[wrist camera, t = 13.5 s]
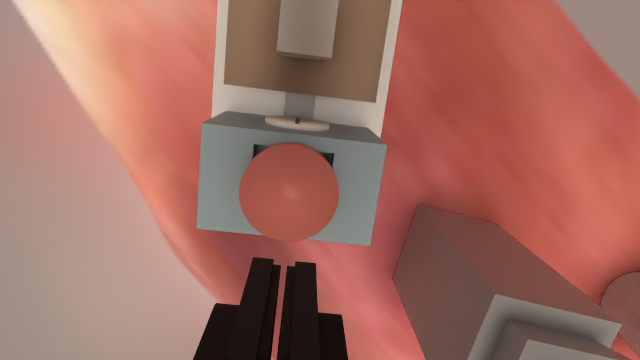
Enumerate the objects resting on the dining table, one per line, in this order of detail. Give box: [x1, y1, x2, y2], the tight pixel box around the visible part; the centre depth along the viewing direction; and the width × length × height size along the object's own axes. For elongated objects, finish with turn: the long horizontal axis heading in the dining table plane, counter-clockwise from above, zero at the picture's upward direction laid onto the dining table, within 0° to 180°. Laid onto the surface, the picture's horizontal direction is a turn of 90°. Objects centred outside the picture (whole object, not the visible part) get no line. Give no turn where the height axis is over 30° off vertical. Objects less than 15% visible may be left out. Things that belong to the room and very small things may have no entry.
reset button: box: [239, 142, 339, 242], centre depth 23 cm, size 5×5×3 cm
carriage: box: [224, 0, 392, 103], centre depth 22 cm, size 9×7×9 cm
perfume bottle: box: [392, 204, 631, 360], centre depth 25 cm, size 7×7×18 cm
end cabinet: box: [197, 111, 387, 246], centre depth 26 cm, size 10×6×7 cm, turn 83°
